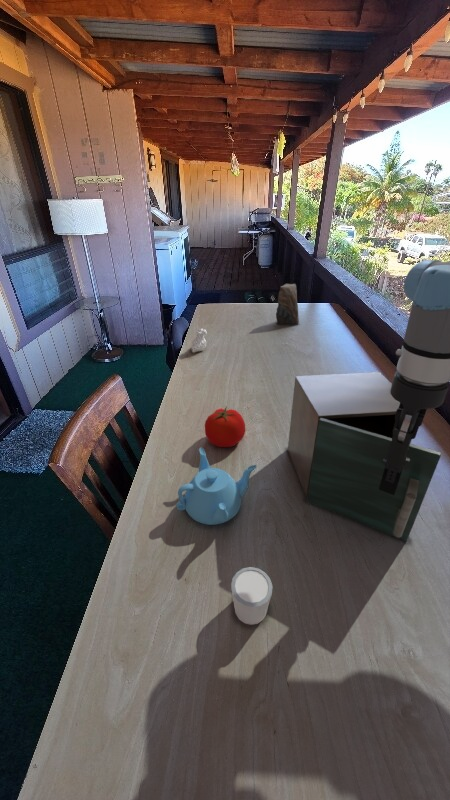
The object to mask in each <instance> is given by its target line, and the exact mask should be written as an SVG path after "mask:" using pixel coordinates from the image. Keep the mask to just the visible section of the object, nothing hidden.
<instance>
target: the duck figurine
mask: <svg viewBox="0 0 450 800" xmlns="http://www.w3.org/2000/svg"><path fill="white" fill-rule="evenodd" d="M194 334H195V336H196V337H194V338H193V340H192V343H191V352H192V353H197V352H203V351H204V350H205V349H206V347H207V340H206V339H205V337H206V336H208V332H207V330H206V329H205V328H199V329H197V331H196V332H195V333H194Z"/></svg>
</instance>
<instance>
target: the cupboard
mask: <svg viewBox="0 0 450 800" xmlns="http://www.w3.org/2000/svg"><path fill="white" fill-rule="evenodd" d="M391 386H392V382H390V380H388V378H387V377H385V376H384V375H383V374H382V373H381V372H380V371H371V372H351V373H350V372H349V373H331V374H311V375H310V374H309V375H295V377H294V385H293V394H292V404H291V415H290V422H289V433H288V442H287V451H288V454H289V457H290V459H291V463H292V465H293V467H294V469H295V472H296V475H297V477H298V479H299V482H300V485H301V487H302V490H303V493H304V495H305V497H306V498H307V495H308V489H309V483H310V476H311V470H312V463H313V457H314V451H315V444H316V438H317V432H318V425H319V420H320V418H324V419H327V420H330V421H334V422H337V423H341V424H344V425H348V426H351V427H355V428H358V429H361V430H365V431H368V432H372V433H375V434H379V435H382V436H386V437H389V438H392V436H393V428H394V424H395V414H396V411H397V408H399V405H400V402H399V401H397V400H395V399H394V398H393V397H392V395H391V393H390V390H391Z"/></svg>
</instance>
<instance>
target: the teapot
mask: <svg viewBox="0 0 450 800" xmlns="http://www.w3.org/2000/svg"><path fill="white" fill-rule="evenodd" d="M198 453H199V459H200V460H199V466H198V472H197V473H196V475H194V476H193V478H192V479H191V480H190V482H189V483H185V484H182V485H181V486H180V487H179V488H178V491H177V496H178V498H179V501H177V502H176V505H175V506H176V509H177V510H178V511H186V513H187V514H188V516H189V517H190V518H191V519H193V520H194V521H195V522H198V523H200V524H203V525H208V526H215V525H221V524H224V523H226V522H228V521H230V520H231V519H233V518H234V517H235V516H236V515H237V514H238V512H239V511H240V510H241V505H242V497H243V496H244V495H245V494H246V492H247V491H248V490H249V489H248V488H249V483H250V477H251V474H252V473H253V471H255V469H256V468H257V465H256V464H252V465H250V466H248V467H247V468H245V470H244V471H243V473H242V476H241V477H240V479H239V480H238V481H235V480H234V478H233V477H232V476H231V475H230V474H229V473H228V472H226V471H225V470H224V469H222V468H218V467H211V466H210V464H209V461H208V458H207V453H206V451H205V449H204V447H199V449H198ZM183 492H184V496H183Z"/></svg>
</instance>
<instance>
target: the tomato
mask: <svg viewBox="0 0 450 800" xmlns="http://www.w3.org/2000/svg"><path fill="white" fill-rule="evenodd" d="M227 407H228V405H226V406H225V408H217V409H216V410H214V412H212V414H209V416H207V418H206V419H205V422H204V434H205V436H206V438H207V440H208V441H209V443H211V445H214V446H215V447H219V448H231V447H234V446H235V445H237V444H238V443H239V442H240V441H242V440H243V438H244V436H245V434H246V423H245V420H244V417H243V416H242V414H241V413H240V412H238V410H236V409H231V408H230V409H227Z"/></svg>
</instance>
